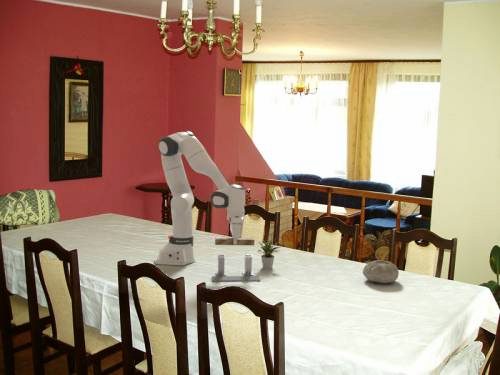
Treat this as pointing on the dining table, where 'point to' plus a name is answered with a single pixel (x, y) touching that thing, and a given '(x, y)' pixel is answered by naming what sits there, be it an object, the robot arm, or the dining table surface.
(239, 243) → the rail
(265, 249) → the house plant
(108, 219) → the dining table surface
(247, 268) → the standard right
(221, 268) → the standard left
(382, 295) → the dining table surface
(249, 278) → the pad
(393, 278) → the grey flattened round lump
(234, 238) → the robot arm
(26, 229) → the dining table surface
